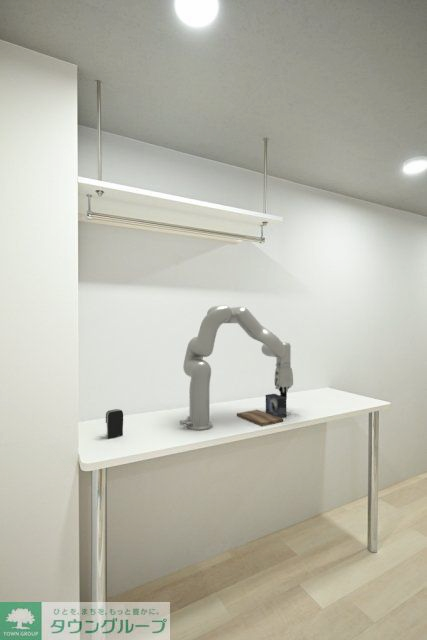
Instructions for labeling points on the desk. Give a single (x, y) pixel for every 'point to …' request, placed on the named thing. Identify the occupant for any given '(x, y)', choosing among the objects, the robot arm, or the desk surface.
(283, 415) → the small box
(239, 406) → the desk surface
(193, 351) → the robot arm
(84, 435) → the desk surface
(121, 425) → the battery charger
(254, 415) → the board
